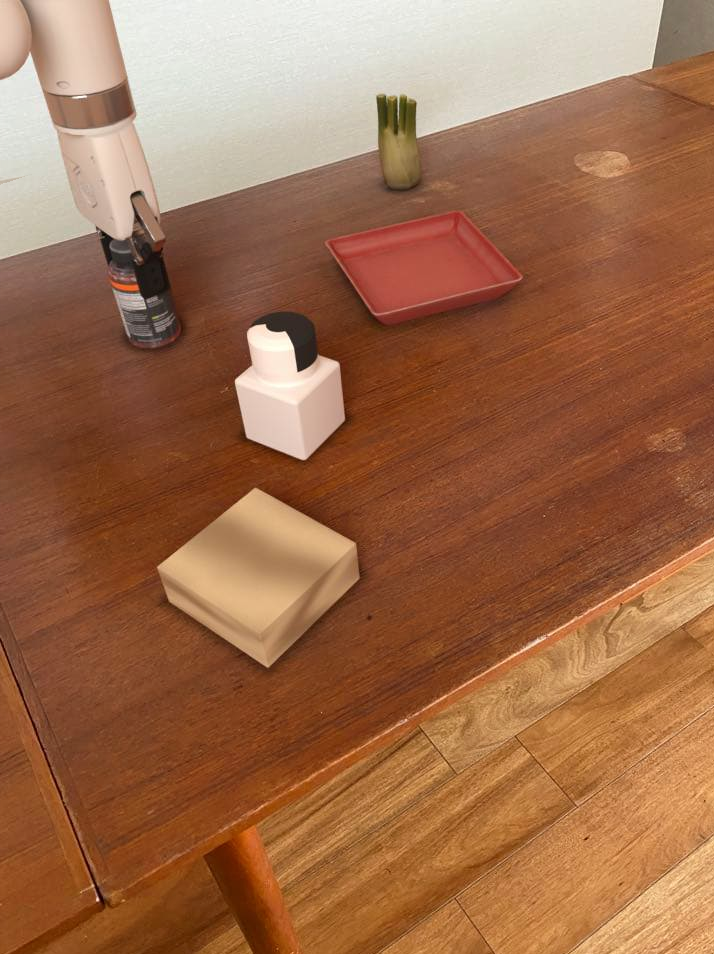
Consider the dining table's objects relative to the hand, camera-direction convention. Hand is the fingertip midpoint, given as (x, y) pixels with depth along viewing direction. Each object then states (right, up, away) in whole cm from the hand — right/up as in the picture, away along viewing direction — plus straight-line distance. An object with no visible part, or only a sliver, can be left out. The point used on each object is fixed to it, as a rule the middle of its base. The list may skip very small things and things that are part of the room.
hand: (140, 279), depth 91 cm
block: (+17, -32, -21) cm, 41 cm away
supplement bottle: (0, -5, +5) cm, 7 cm away
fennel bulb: (+28, +22, +29) cm, 45 cm away
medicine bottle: (+17, -17, -7) cm, 25 cm away
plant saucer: (+30, +3, +11) cm, 32 cm away
